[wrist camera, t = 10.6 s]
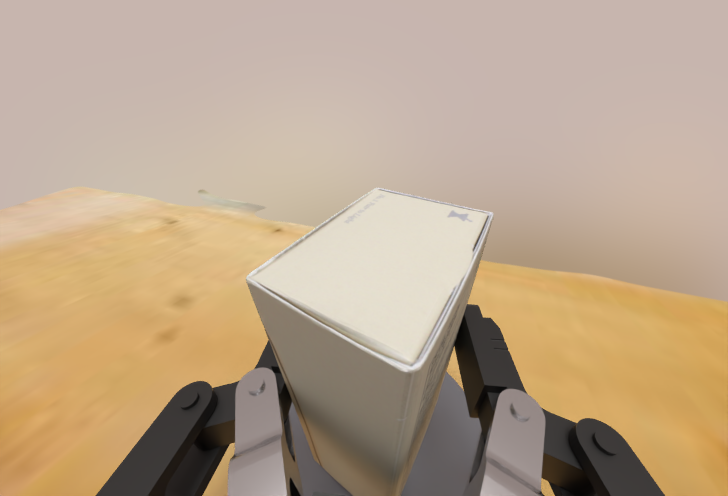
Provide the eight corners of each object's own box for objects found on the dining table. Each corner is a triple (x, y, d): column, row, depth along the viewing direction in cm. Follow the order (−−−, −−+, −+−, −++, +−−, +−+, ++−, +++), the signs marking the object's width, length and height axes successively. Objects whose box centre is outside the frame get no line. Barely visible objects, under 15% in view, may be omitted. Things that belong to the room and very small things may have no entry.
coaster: (224, 596, 11) (217, 595, 10) (306, 342, 20) (304, 336, 20) (531, 650, 10) (540, 652, 9) (462, 354, 19) (465, 348, 19)
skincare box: (375, 363, 17) (376, 183, 10) (441, 401, 15) (499, 208, 8) (309, 465, 13) (232, 271, 6) (390, 538, 11) (420, 373, 4)
